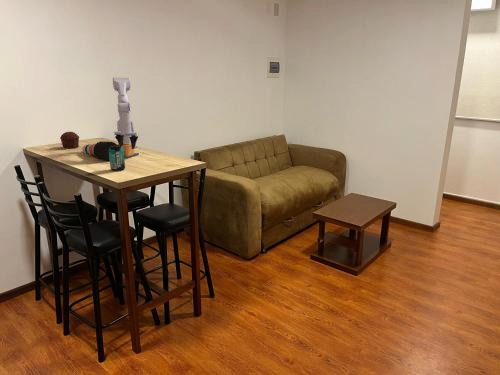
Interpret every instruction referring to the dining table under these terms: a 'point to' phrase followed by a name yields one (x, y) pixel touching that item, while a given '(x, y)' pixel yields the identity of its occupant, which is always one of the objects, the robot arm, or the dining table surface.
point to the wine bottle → (98, 149)
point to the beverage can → (116, 158)
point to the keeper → (131, 156)
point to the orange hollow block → (127, 149)
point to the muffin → (70, 140)
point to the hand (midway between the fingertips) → (127, 148)
